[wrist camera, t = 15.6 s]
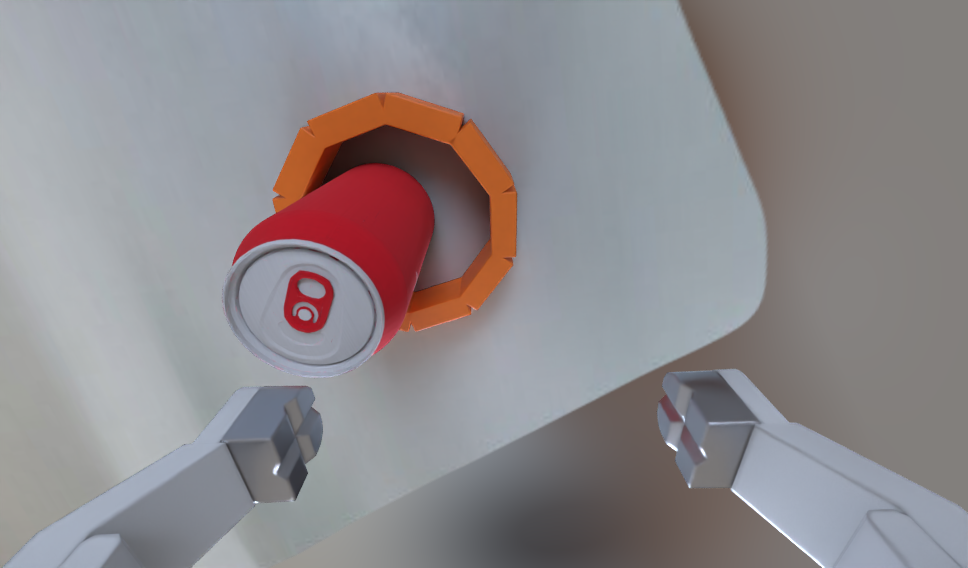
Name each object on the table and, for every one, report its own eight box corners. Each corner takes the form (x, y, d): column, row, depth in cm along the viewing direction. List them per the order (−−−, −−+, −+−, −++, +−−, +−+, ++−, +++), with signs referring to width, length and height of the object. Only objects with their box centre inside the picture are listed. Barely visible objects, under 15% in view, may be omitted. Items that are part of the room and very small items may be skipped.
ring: (513, 89, 21) (518, 88, 18) (512, 306, 26) (515, 329, 24) (272, 95, 21) (243, 96, 18) (324, 311, 27) (308, 335, 24)
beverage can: (322, 240, 24) (194, 358, 13) (346, 142, 22) (212, 191, 11) (417, 275, 25) (370, 410, 15) (451, 186, 23) (423, 270, 12)
